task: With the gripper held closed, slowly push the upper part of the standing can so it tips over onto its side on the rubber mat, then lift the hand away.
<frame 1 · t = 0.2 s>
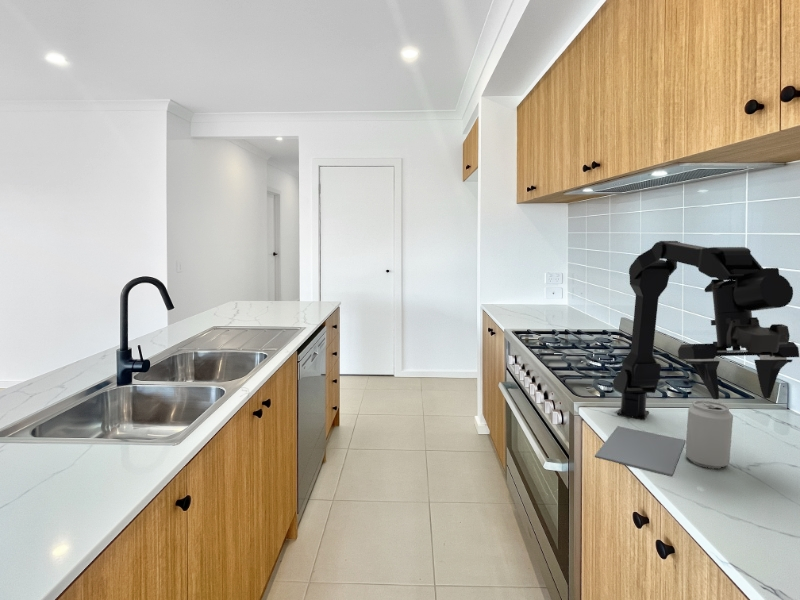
hand: (741, 398, 88), 15 cm above the countertop, tool pointing down, fingers open, 9 cm apart
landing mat: (641, 449, 103), on the countertop
can: (706, 462, 97), on the countertop
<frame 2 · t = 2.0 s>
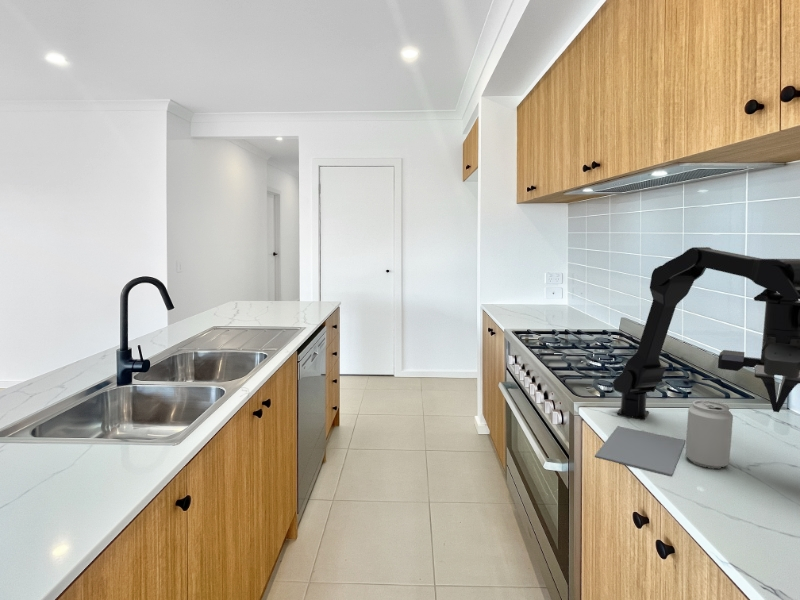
hand: (776, 411, 90), 13 cm above the countertop, tool pointing down, fingers closed
nothing on the countertop moved.
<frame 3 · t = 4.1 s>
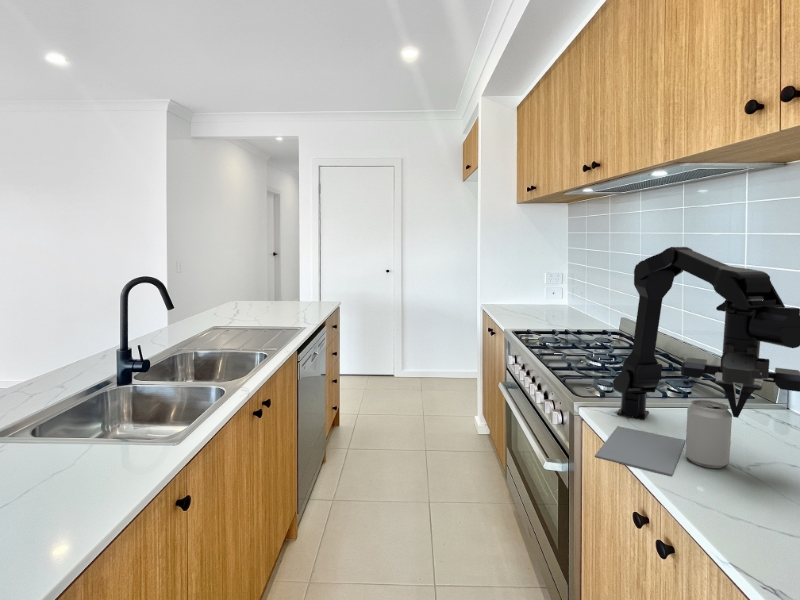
hand: (735, 416, 93), 10 cm above the countertop, tool pointing down, fingers closed
can: (706, 462, 97), on the countertop, touching gripper
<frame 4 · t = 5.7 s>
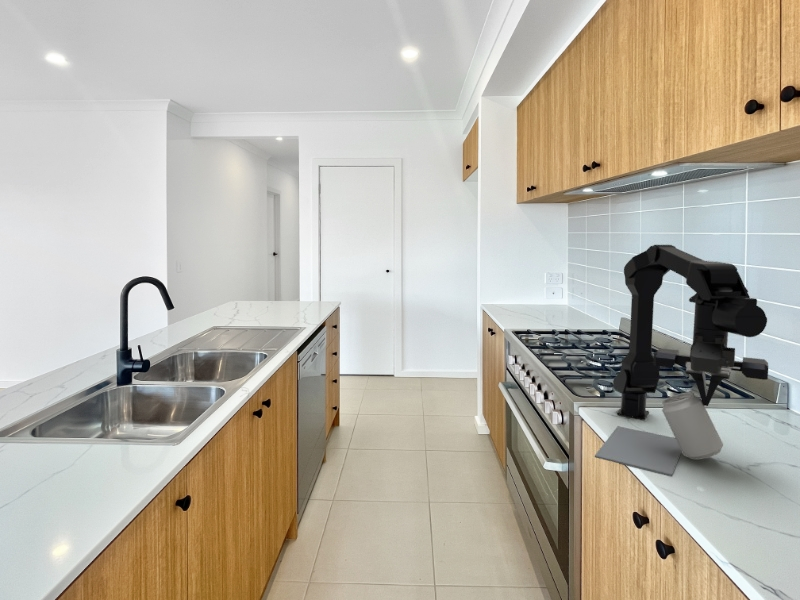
hand: (705, 405, 96), 12 cm above the countertop, tool pointing down, fingers closed
can: (705, 454, 97), point 1 cm above the countertop
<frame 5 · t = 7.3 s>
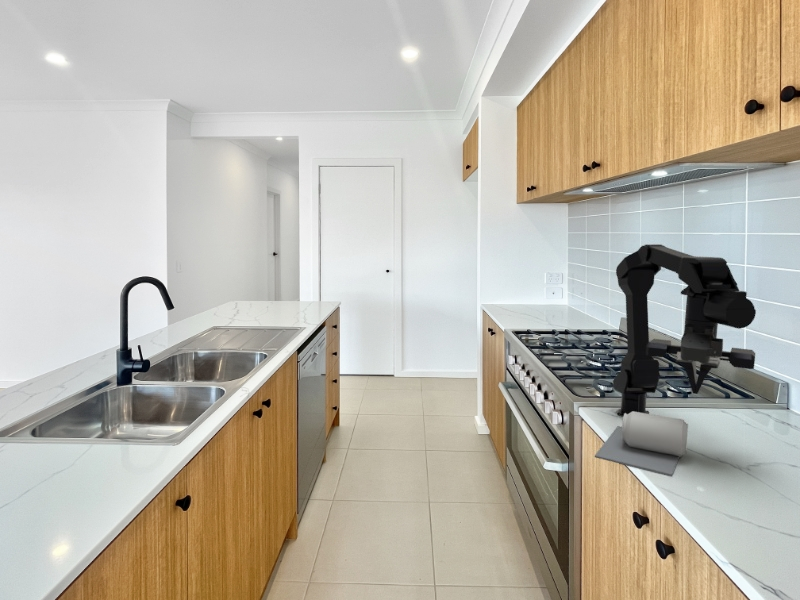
hand: (695, 393, 101), 13 cm above the countertop, tool pointing down, fingers closed
can: (688, 438, 98), point 4 cm above the countertop, touching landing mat
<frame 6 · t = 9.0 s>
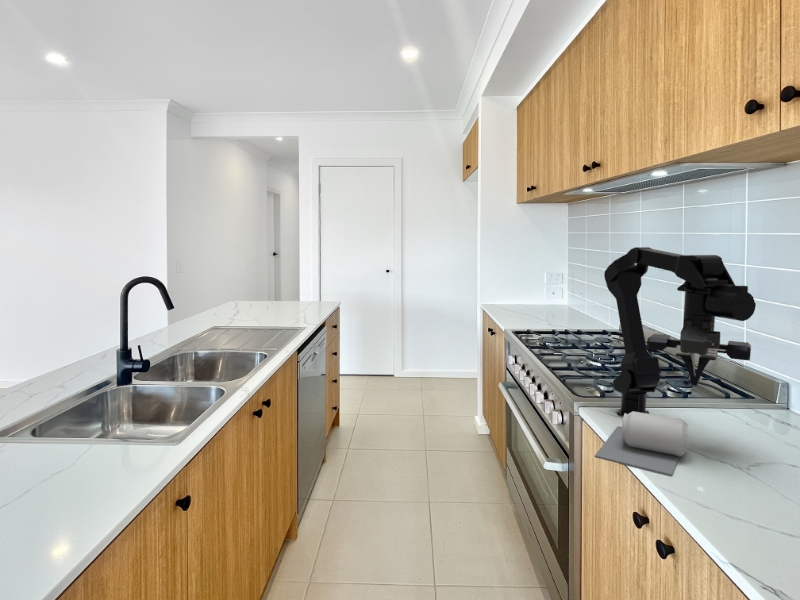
hand: (694, 385, 105), 13 cm above the countertop, tool pointing down, fingers closed
nothing on the countertop moved.
at the end: can tilted 90°; can inside the target area (6.8 cm from its centre), point 4.1 cm above the countertop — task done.
